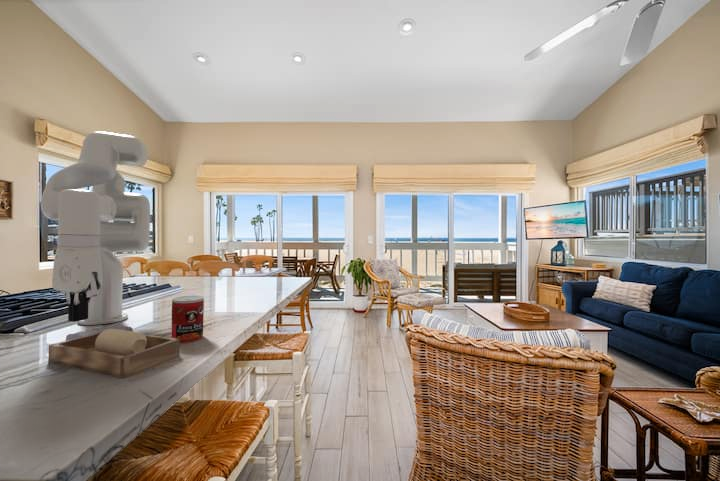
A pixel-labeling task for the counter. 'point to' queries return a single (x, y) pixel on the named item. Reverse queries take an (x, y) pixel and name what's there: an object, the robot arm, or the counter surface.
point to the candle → (120, 342)
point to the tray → (112, 355)
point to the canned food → (187, 318)
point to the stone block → (85, 333)
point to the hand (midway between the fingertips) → (78, 319)
